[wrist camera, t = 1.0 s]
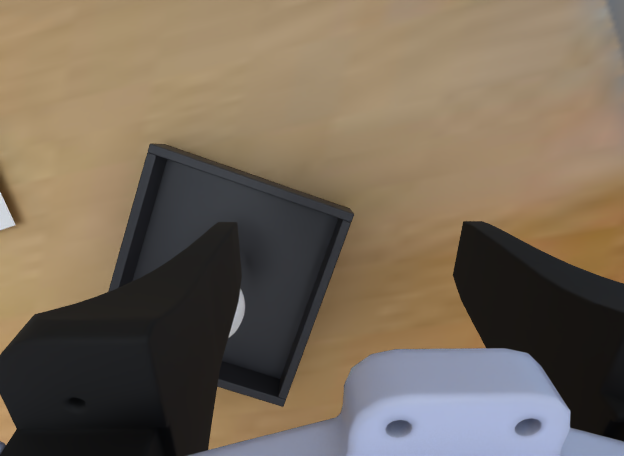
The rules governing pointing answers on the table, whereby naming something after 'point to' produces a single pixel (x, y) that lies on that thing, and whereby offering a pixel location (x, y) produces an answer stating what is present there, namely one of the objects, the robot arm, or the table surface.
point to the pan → (253, 242)
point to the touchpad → (5, 215)
